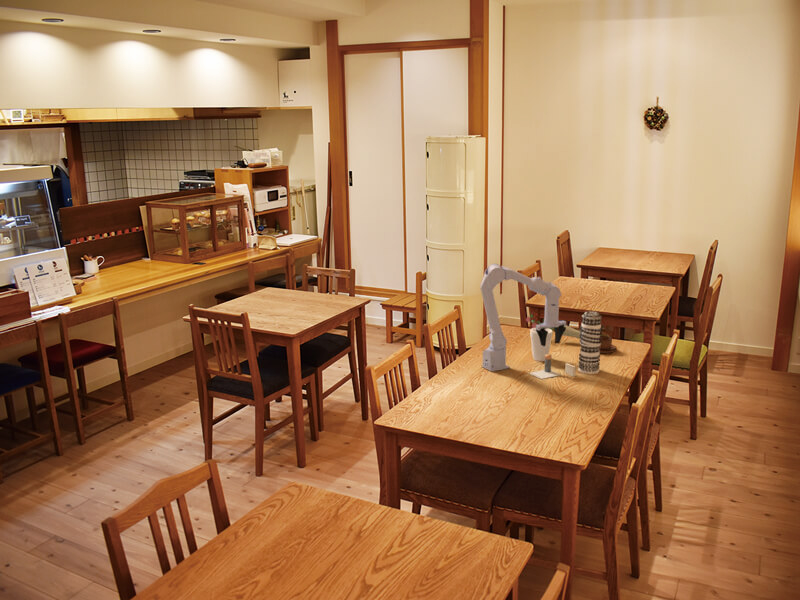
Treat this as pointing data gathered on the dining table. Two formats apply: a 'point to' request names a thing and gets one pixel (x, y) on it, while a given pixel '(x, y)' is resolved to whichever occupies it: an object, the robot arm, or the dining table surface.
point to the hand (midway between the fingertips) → (550, 344)
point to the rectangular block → (570, 369)
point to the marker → (548, 363)
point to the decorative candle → (590, 342)
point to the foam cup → (537, 348)
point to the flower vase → (567, 332)
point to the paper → (544, 374)
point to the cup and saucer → (606, 345)
